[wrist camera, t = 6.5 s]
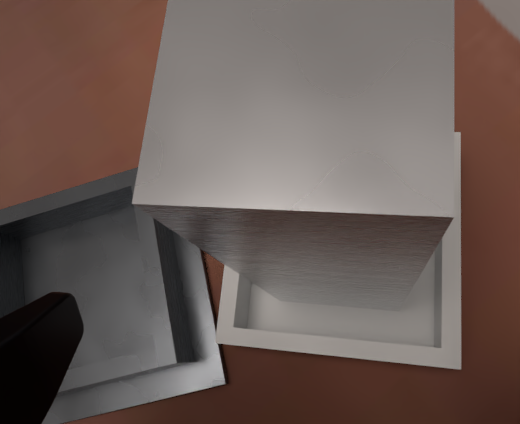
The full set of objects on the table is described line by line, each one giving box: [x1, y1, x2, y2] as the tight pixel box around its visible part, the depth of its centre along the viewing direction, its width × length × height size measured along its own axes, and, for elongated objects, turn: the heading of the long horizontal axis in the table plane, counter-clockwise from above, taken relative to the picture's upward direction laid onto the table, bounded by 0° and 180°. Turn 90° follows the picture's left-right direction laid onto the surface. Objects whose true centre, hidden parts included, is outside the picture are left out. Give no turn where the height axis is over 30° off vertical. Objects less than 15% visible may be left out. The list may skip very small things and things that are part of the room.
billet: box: [132, 0, 454, 311], centre depth 14 cm, size 4×4×13 cm
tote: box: [215, 132, 461, 370], centre depth 19 cm, size 8×8×2 cm
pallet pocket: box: [0, 167, 228, 424], centre depth 21 cm, size 10×10×2 cm
